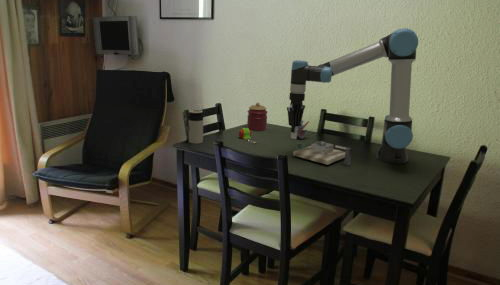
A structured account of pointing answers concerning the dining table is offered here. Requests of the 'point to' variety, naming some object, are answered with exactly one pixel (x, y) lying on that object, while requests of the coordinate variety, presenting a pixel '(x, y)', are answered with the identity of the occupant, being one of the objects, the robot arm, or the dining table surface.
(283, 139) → the dining table surface
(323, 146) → the cover
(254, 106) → the canister
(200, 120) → the travel mug
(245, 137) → the toy measuring tape
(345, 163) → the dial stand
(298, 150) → the patterned tray
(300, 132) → the toy figurine
